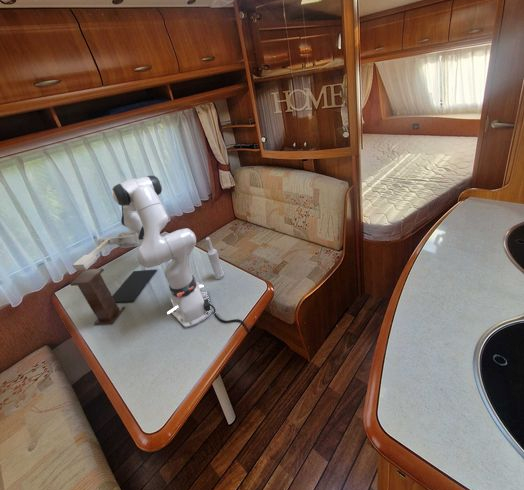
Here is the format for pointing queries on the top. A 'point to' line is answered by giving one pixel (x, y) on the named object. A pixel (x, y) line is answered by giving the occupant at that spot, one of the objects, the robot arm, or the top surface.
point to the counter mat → (133, 286)
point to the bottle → (214, 260)
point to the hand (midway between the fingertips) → (106, 241)
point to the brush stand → (98, 296)
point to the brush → (89, 257)
